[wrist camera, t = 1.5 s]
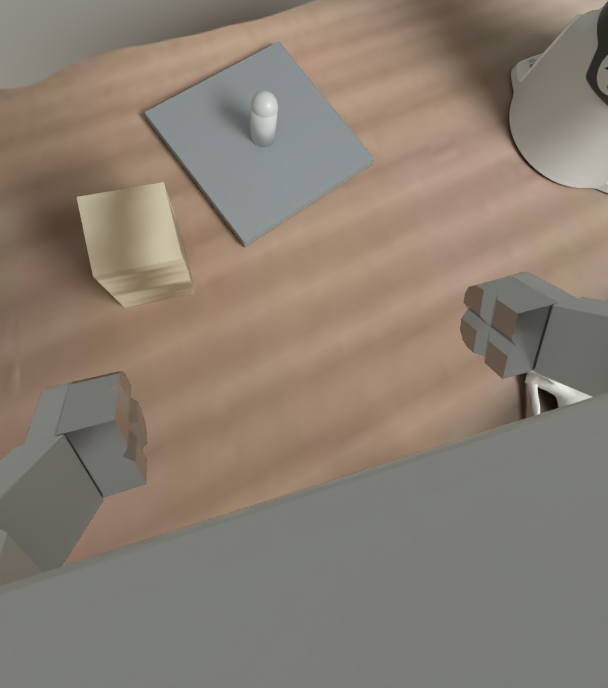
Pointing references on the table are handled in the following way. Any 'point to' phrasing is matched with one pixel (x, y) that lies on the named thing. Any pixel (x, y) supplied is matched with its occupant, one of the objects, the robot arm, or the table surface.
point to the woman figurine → (551, 391)
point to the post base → (244, 164)
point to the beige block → (135, 244)
